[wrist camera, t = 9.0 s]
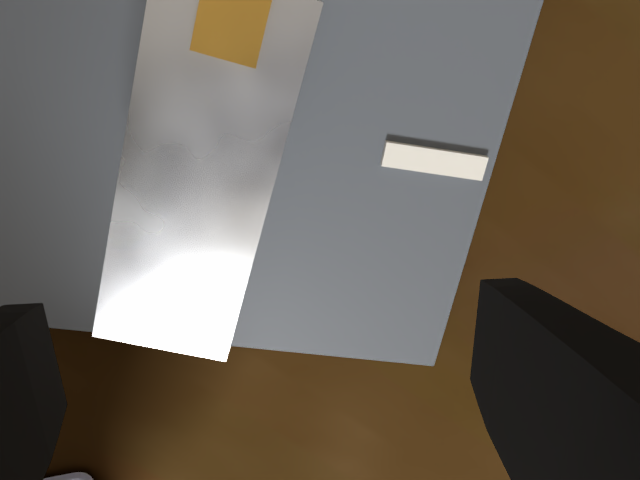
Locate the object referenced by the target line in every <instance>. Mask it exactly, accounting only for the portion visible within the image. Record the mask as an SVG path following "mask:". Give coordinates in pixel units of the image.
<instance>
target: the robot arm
mask: <svg viewBox="0 0 640 480" xmlns="http://www.w3.org/2000/svg"><path fill="white" fill-rule="evenodd" d="M470 380H471V383H472V387H473V390H474V393H475V396H476V399H477V402H478V406H479V409H480V411H481V414H482V417H483V420H484V423H485V426H486V429H487V431H488V433H489V436H490V438H491V440H492V442H493V444H494V446H495V448H496V450H497V452H498V454H499V456H500V458H501V461H502V463H503V465H504V467H505V469H506V471H507V473H508V475H509V477H510V479H511V480H640V343H639V342H637V341H635V340H633V339H631V338H629V337H627V336H626V335H624V334H622V333H620V332H618V331H616V330H614V329H612V328H610V327H609V326H607V325H605V324H603V323H601V322H599V321H598V320H596V319H594V318H592V317H590V316H588V315H587V314H585V313H583V312H581V311H579V310H578V309H576V308H574V307H572V306H570V305H569V304H567V303H565V302H563V301H561V300H559V299H558V298H556V297H554V296H552V295H550V294H548V293H547V292H545V291H543V290H541V289H539V288H537V287H535V286H533V285H531V284H529V283H527V282H525V281H522V280H520V279H518V278H505V279H486V280H481V281H480V290H479V300H478V309H477V319H476V328H475V338H474V347H473V357H472V366H471V376H470ZM66 407H67V401H66V397H65V393H64V389H63V385H62V380H61V376H60V372H59V368H58V364H57V360H56V355H55V351H54V347H53V343H52V339H51V335H50V330H49V326H48V322H47V318H46V314H45V310H44V305H43V303H29V304H10V305H3V306H0V480H93V478H92V477H91V476H90V475H88V474H87V473H83V472H75V473H69V474H64V475H59V476H54V477H49V478H44V476H45V474H46V471H47V469H48V467H49V464H50V462H51V459H52V456H53V453H54V450H55V446H56V443H57V440H58V436H59V433H60V429H61V426H62V422H63V418H64V414H65V411H66Z"/></svg>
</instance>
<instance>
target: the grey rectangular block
mask: <svg viewBox="0 0 640 480" xmlns="http://www.w3.org/2000/svg"><path fill="white" fill-rule="evenodd" d="M322 7H323V2H322V1H321V0H147V2H146V8H145V14H144V21H143V27H142V33H141V39H140V45H139V51H138V57H137V63H136V70H135V76H134V82H133V88H132V94H131V100H130V106H129V112H128V118H127V125H126V131H125V137H124V143H123V149H122V155H121V161H120V167H119V174H118V180H117V186H116V192H115V198H114V204H113V210H112V216H111V223H110V229H109V235H108V241H107V247H106V253H105V259H104V265H103V272H102V278H101V284H100V290H99V296H98V302H97V308H96V314H95V320H94V327H93V333H92V337H97V338H103V339H108V340H113V341H118V342H124V343H129V344H134V345H140V346H145V347H150V348H155V349H161V350H166V351H171V352H177V353H182V354H187V355H192V356H198V357H203V358H208V359H213V360H219V361H224V362H226V360H227V356H228V352H229V349H230V345H231V341H232V338H233V334H234V330H235V327H236V323H237V319H238V316H239V312H240V308H241V305H242V301H243V297H244V294H245V290H246V286H247V283H248V279H249V275H250V272H251V268H252V264H253V260H254V257H255V253H256V249H257V246H258V242H259V238H260V235H261V231H262V227H263V224H264V220H265V216H266V213H267V209H268V205H269V202H270V198H271V194H272V191H273V187H274V183H275V180H276V176H277V172H278V168H279V165H280V161H281V157H282V154H283V150H284V146H285V143H286V139H287V135H288V132H289V128H290V124H291V121H292V117H293V113H294V110H295V106H296V102H297V99H298V95H299V91H300V87H301V84H302V80H303V76H304V73H305V69H306V65H307V62H308V58H309V54H310V51H311V47H312V43H313V40H314V36H315V32H316V29H317V25H318V21H319V18H320V14H321V10H322Z"/></svg>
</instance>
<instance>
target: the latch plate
mask: <svg viewBox="0 0 640 480" xmlns="http://www.w3.org/2000/svg"><path fill="white" fill-rule="evenodd" d="M321 1H322V2H323V7H322V10H321V14H320V18H319V21H318V25H317V29H316V32H315V36H314V40H313V43H312V47H311V51H310V54H309V58H308V62H307V65H306V69H305V73H304V76H303V80H302V84H301V87H300V91H299V95H298V99H297V102H296V106H295V110H294V113H293V117H292V121H291V124H290V128H289V132H288V135H287V139H286V143H285V146H284V150H283V154H282V157H281V161H280V165H279V168H278V172H277V176H276V180H275V183H274V187H273V191H272V194H271V198H270V202H269V205H268V209H267V213H266V216H265V220H264V224H263V227H262V231H261V235H260V238H259V242H258V246H257V249H256V253H255V257H254V260H253V264H252V268H251V272H250V275H249V279H248V283H247V286H246V290H245V294H244V297H243V301H242V305H241V308H240V312H239V316H238V319H237V323H236V327H235V330H234V334H233V338H232V341H231V345H230V346H237V347H247V348H257V349H267V350H277V351H287V352H297V353H308V354H318V355H328V356H338V357H348V358H358V359H368V360H378V361H388V362H398V363H408V364H418V365H428V366H434V364H435V360H436V357H437V354H438V350H439V347H440V344H441V340H442V337H443V334H444V330H445V327H446V324H447V320H448V317H449V314H450V310H451V307H452V304H453V300H454V297H455V294H456V290H457V287H458V284H459V280H460V277H461V274H462V270H463V267H464V264H465V260H466V257H467V254H468V250H469V247H470V244H471V240H472V237H473V234H474V230H475V227H476V224H477V220H478V217H479V214H480V210H481V207H482V204H483V200H484V197H485V194H486V190H487V187H488V184H489V180H490V177H491V174H492V170H493V167H494V164H495V160H496V157H497V154H498V150H499V147H500V144H501V140H502V137H503V134H504V130H505V127H506V124H507V120H508V117H509V114H510V110H511V107H512V104H513V100H514V97H515V94H516V90H517V87H518V84H519V80H520V77H521V74H522V70H523V67H524V64H525V60H526V57H527V54H528V50H529V47H530V44H531V40H532V37H533V34H534V30H535V27H536V24H537V20H538V17H539V14H540V10H541V7H542V4H543V0H321ZM146 2H147V0H0V306H3V305H10V304H29V303H43V305H44V310H45V314H46V318H47V322H48V326H49V328H57V329H67V330H77V331H87V332H93V327H94V320H95V314H96V308H97V302H98V296H99V290H100V284H101V278H102V272H103V265H104V259H105V253H106V247H107V241H108V235H109V229H110V223H111V216H112V210H113V204H114V198H115V192H116V186H117V180H118V174H119V167H120V161H121V155H122V149H123V143H124V137H125V131H126V125H127V118H128V112H129V106H130V100H131V94H132V88H133V82H134V76H135V70H136V63H137V57H138V51H139V45H140V39H141V33H142V27H143V21H144V14H145V8H146Z"/></svg>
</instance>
